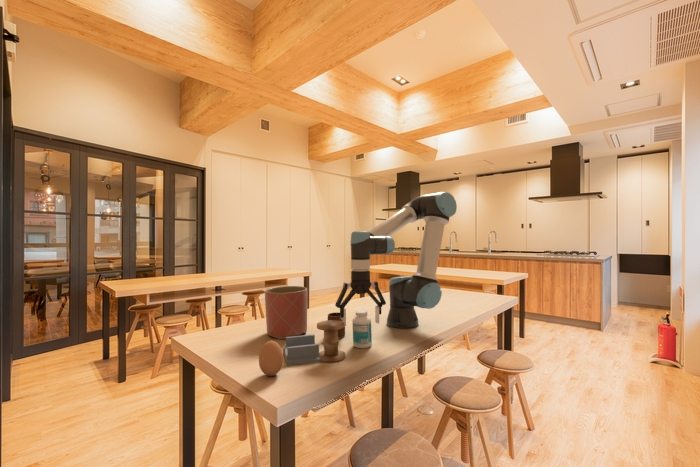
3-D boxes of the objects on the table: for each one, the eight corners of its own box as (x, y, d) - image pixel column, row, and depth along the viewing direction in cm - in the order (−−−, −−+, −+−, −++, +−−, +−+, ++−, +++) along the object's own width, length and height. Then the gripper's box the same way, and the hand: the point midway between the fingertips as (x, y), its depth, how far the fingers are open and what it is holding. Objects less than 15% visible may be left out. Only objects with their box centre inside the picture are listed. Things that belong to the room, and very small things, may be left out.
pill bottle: (362, 341, 131) (361, 308, 131) (375, 345, 126) (374, 311, 126) (349, 345, 126) (348, 311, 126) (362, 350, 120) (361, 314, 120)
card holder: (314, 344, 128) (314, 332, 128) (321, 361, 111) (321, 347, 111) (284, 347, 125) (284, 335, 125) (286, 365, 108) (286, 351, 108)
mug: (352, 340, 132) (351, 317, 133) (334, 343, 130) (334, 319, 130) (341, 332, 144) (341, 311, 144) (325, 334, 141) (325, 313, 141)
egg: (282, 379, 97) (281, 344, 97) (256, 381, 97) (255, 345, 97) (285, 369, 105) (284, 336, 105) (261, 370, 104) (260, 337, 104)
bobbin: (341, 350, 120) (341, 319, 121) (348, 360, 111) (347, 326, 111) (315, 353, 118) (314, 321, 118) (319, 364, 108) (318, 329, 108)
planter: (278, 343, 131) (277, 294, 131) (258, 333, 145) (257, 289, 145) (316, 333, 143) (315, 288, 143) (294, 324, 157) (293, 284, 158)
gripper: (386, 268, 132) (387, 319, 132) (327, 270, 126) (328, 323, 126) (393, 270, 125) (394, 324, 125) (331, 272, 119) (331, 328, 119)
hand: (361, 323), depth 125 cm, fingers open, 13 cm apart
